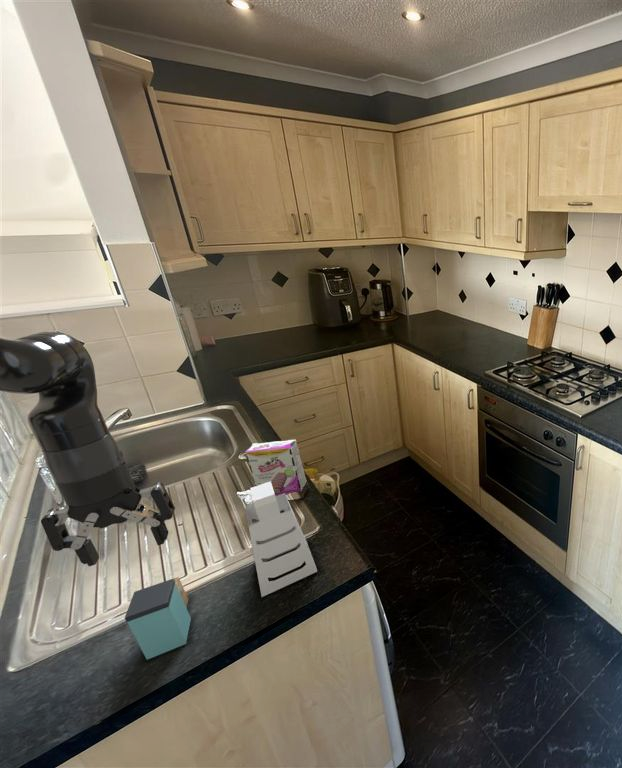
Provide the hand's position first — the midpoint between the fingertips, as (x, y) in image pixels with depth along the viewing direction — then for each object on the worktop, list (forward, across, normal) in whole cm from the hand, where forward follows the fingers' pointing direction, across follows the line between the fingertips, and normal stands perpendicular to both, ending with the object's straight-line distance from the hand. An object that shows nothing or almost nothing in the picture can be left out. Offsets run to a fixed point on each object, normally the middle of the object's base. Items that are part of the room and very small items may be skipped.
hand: (129, 551), depth 66 cm
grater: (+20, +19, +7) cm, 28 cm away
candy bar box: (+20, +20, +36) cm, 46 cm away
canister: (+19, 0, +4) cm, 19 cm away
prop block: (+20, 0, +6) cm, 21 cm away
